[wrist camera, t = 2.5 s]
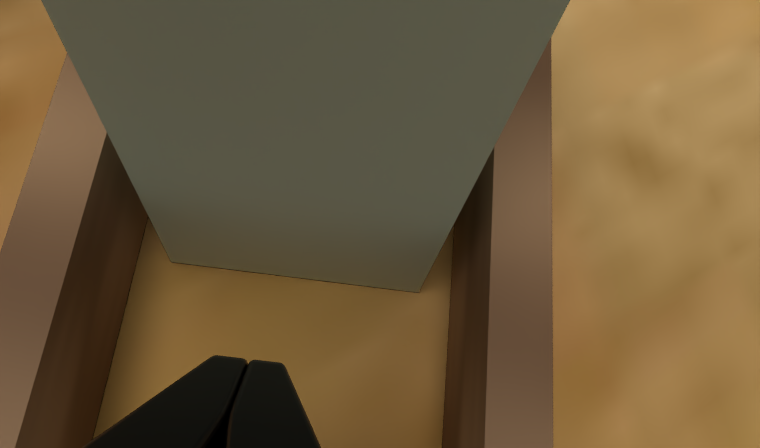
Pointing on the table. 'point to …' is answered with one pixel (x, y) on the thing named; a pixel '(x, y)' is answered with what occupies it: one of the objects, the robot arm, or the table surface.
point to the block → (305, 122)
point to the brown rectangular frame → (122, 244)
